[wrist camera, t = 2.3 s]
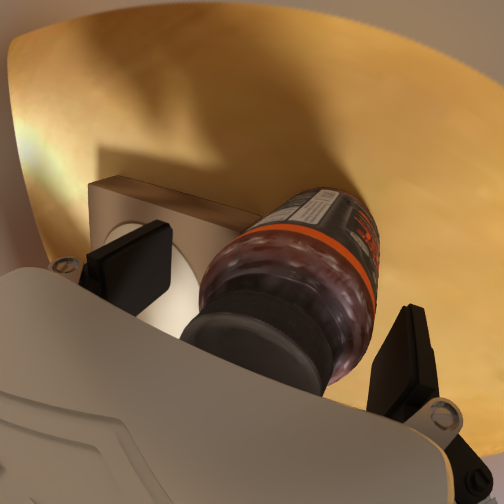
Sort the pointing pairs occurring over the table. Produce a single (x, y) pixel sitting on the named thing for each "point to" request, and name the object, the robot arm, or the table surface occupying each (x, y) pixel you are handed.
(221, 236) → the walnut stand
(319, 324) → the supplement bottle
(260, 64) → the table surface
